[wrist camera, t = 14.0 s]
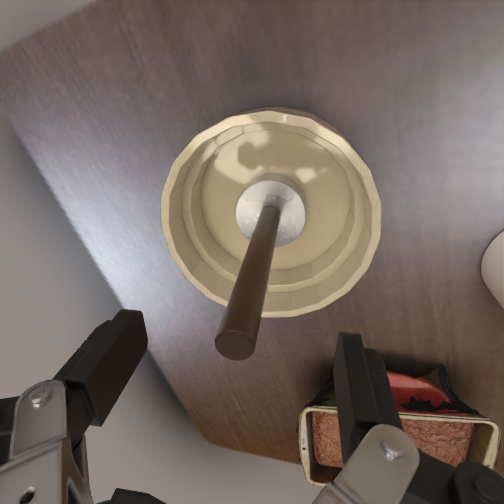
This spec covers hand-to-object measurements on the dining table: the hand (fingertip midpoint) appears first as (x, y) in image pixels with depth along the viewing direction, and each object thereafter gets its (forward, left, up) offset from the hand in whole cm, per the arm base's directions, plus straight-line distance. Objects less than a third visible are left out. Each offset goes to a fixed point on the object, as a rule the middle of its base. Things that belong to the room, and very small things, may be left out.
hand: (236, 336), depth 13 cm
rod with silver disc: (0, 0, -16) cm, 16 cm away
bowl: (0, 0, -16) cm, 16 cm away
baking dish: (+25, -7, -17) cm, 31 cm away
